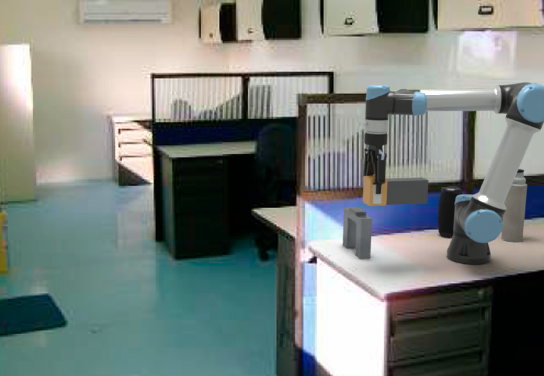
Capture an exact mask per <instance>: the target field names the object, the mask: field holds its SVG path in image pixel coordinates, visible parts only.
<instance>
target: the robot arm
mask: <svg viewBox="0 0 544 376" xmlns="http://www.w3.org/2000/svg"><path fill="white" fill-rule="evenodd" d="M365 93H366V95H365V96H366V97H365V112H364V113H365V115H364V117H365V118H364V119H365V121H364V123H363V125H364V131H365V133H364V135H363V138H364V139H363V143H364V144H365V145H368V147H365V148H364V149H363V150H364V152H363V153H364V157H363V158H364V160H363V175H362V177H363V178H364V176H374V179H375V183H373V204H381V195H382V184H383V183H385V178H386V172H387V171H386V170H387V169H386V168H387V167H386V166H387V165H386V164H387V157H388V156H387V153H384V150H383V146H386V145H387V144H388V132H389V115H391V116H392V115H393V116H394V115H398V116H415V117H416V116H424V115H426V113H427V112H479V111H480V112H481V111H483V112H485V111H487V112H489V111H490V112H491V111H492V112H494V113H495V114H498V115H499V114H504V115H505V114H506V116H505V118H504V119H505V121H506V124H507V125H506V127H505V129H504V132H503V135H502V137H501V139H500V142H499V144H498V146H497V149H496V151H495V153H494V156H493V159H492V160H491V163H490V165H489V168H488V171H487V173H486V175H485V177H484V179H483V182H482V183H481V186H480V189H479V191H478V192H476V193H475V194H462V195H458V196H457V197H456V200H455V213H454V230H453V236H451V240H450V243H449V245H448V247H447V249H446V258H447V259H448V260H450V261H453V262H455V263H459V264H467V265H483V264H487V263H488V264H489V263H490V262H491V260H492V253H491V249H490V246H489V243H490V242H493V241H495V240H496V239H497V238H498V237H499V236H501V234H502V228H503V223H502V221H503V216H504V213H505V211H506V206H505V204H504V201H505V199H506V197H507V194H508V192H509V190H510V187H511V185H512V183H513V180H514V178H515V176H516V173H517V171H518V169H520V167H521V164H522V162H523V159H524V157H525V155H526V153H527V151H528V150H527V149H528V148H529V146H530V143H531V141H532V139H533V136H534V135H535V134H536V133H539V132H540V131H541V129H543V126H544V85H543V84H540V83H536V82H535V83H534V82H517V83H511V84H499V85H498V84H497V85H495V86H494V87H493V88H492V87H488V88H487V87H486V88H436V89H435V88H433V89H432V88H431V89H429V88H427V89H426V88H425V89H424V88H423V89H407V88H399V89H398V90H396V91H393V90H391V87H390V86H389V85H385V84H370V85H368V86H367V88H366V92H365Z"/></svg>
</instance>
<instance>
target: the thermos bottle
mask: <svg viewBox="0 0 544 376" xmlns="http://www.w3.org/2000/svg"><path fill="white" fill-rule="evenodd" d="M524 172H525V169H522V168H519V169H518V171H517V173H516V176H515V178H514V180H513V183H512V185H511V187H510V190H509V192H508V194H507V197H506V199H505V201H504V204H505V206H506V211H505V213H504V216H503V218H502V223H503V228H502V231H501V233H500V238H501V240H502V241H505V242H511V243H520V242H522V241H523V239H524V227H525V217H526V216H525V215H526V202H527V190H528V183H526V182H527V180H526V178H525V177H524V175H525V174H524Z"/></svg>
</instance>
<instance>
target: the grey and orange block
mask: <svg viewBox="0 0 544 376" xmlns="http://www.w3.org/2000/svg"><path fill="white" fill-rule="evenodd" d="M373 183H375V179H374V176H364V177H363V183H362V184H363V189H362V203H363V204H365V205H367V206H368V207H377V206H379V207H380V206H391V205H392V206H394V205H395V206H397V205H415V204H416V205H418V204H420V205H422V204H428V195H429V194H428V193H429V179H427V178H424V177H397V178H396V177H395V178H394V177H392V178H391V177H390V178H388V177H385V183H383V184H382V195H381V204H373Z"/></svg>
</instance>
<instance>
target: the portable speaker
mask: <svg viewBox="0 0 544 376" xmlns="http://www.w3.org/2000/svg"><path fill="white" fill-rule="evenodd" d="M440 190H441V192H440V195H439V200H438V207H437V228H438V233H439V235H440V236H441V238H448V239H452V237H453V230H454V213H455V200H456V197H457V196H458V195H463V189H462V188H460V187H458V186H456V185H455V186H453V185H449V186H446V187H443V186H442V187H441V189H440Z"/></svg>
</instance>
